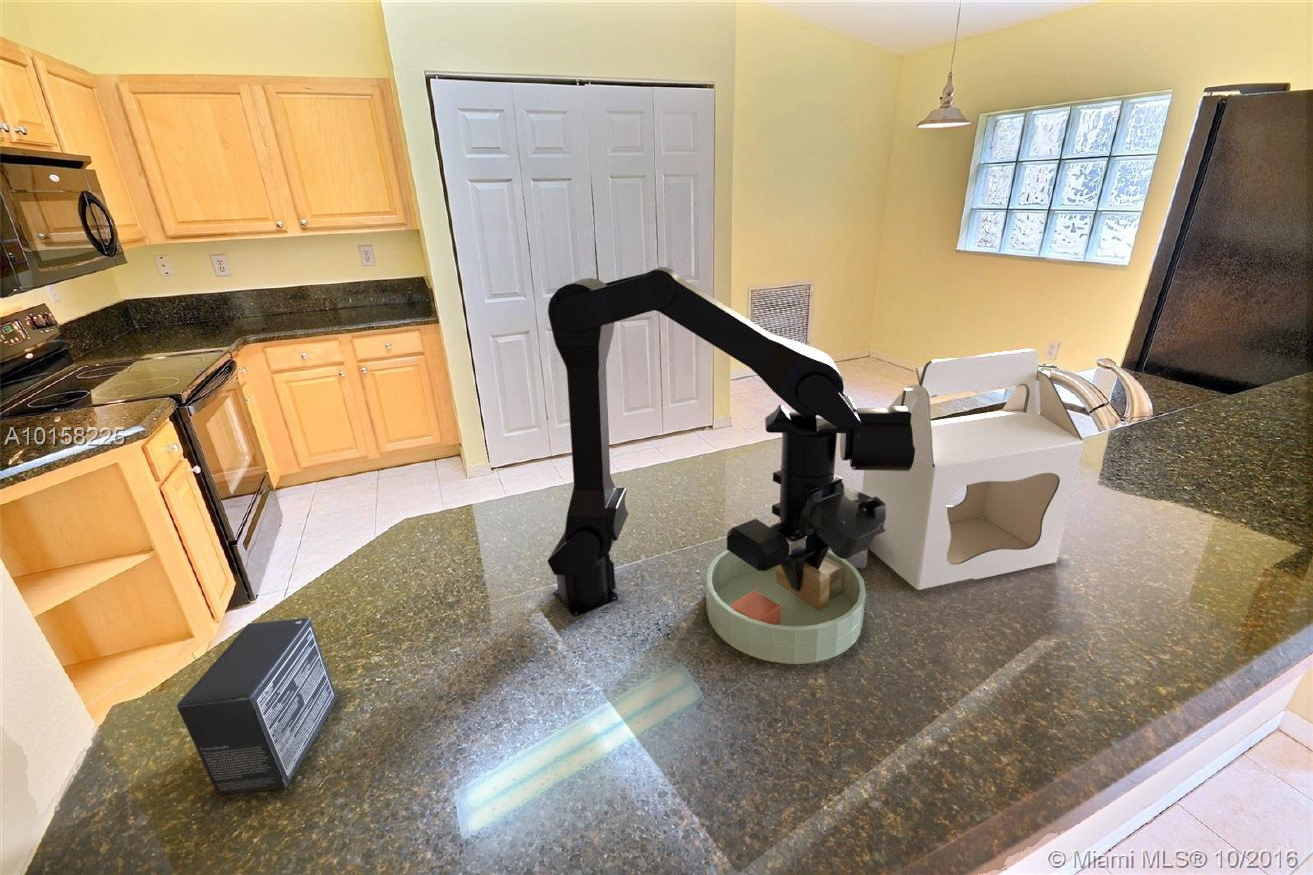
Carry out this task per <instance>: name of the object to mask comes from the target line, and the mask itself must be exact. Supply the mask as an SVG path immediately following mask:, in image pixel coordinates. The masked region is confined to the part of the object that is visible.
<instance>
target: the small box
mask: <svg viewBox="0 0 1313 875" xmlns="http://www.w3.org/2000/svg"><path fill="white" fill-rule="evenodd" d="M314 627H315V626H314V625H313V621H312V619H311V617H310V616H306V617H298V618H288V619H279V620H269V621H261V622H259V621H258V622H251V623H247V625H246V626H245V627H244V628H243V629H242V630H241V632H240V633H239V634H238V635H237V636H236V637H235V638H234V640H233V641H232V642H231V643H230V644H229V645H228V647H226V649H225V650H224V651H223V652H222V653H221V655H219V657H218V658H217V659H216V660H215V661H214V662H213V663H212V665H210V667H209V668H208V669H207V670H206V672H205V673H204V674H203V675H201V677H200V678H199V679H198V681H197V682H196V683H195V684H194V685H193V686H192V688H190V690H189V691H188V692H186V694H185V695H184V696H183V698H181V700H180V701H179V702H178V703H177V704H176V706H175V707H176V708H177V710H178V712H179V715H180V716H181V719H182V721H183V723H184V725H185V728H186V729H187V732H188V734H189V736H190V738H191V740H192V742H193V745H194V746H195V749H196V751H197V753H198V756H199V757H200V760H201V762H202V764H203V766H204V768H205V770H206V773H207V775H208V778H209V779H210V782H211V784H212V786H213V788H214V791H215V793H216V795H218V796H222V795H233V794H242V793H251V792H261V791H272V790H281V789H286V788H288V786H290V783H291V782H292V780H293V778H294V777H295V775H296V773H297V771H298V769H299V767H300V766H301V765H302V762H303V760H304V759H305V757H306V755H307V753H308V752H309V750H310V748H311V747H312V744H313V743H314V741H315V739H316V737H317V736H318V735H319V732H320V730H321V728H322V727H323V725H324V724H325V721H326V720H327V718H328V716H329V715H330V712H331V711H332V709H333V707H334V705H335V704H336V702H337V700H338V698H339V697H338V695H337V692H336V689H335V686H334V684H333V681H332V678H331V676H330V673H329V670H328V667H327V664H326V661H325V659H324V654H323V652H322V649H321V646H320V643H319V640H318V637H317V634H316V631H315V628H314Z"/></svg>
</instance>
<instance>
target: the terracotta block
mask: <svg viewBox="0 0 1313 875" xmlns="http://www.w3.org/2000/svg"><path fill="white" fill-rule="evenodd" d="M730 608H732V609H733V610H734V611H736V612H738V613H740V614H742V615H745V616H747V617H749V618H751V619H754V620H758V621H761V622H765V623H769V624H773V625H780V613H781V606H780V605H778V604H777V603H775V602H773V601H771V600H770V599H768V598H766V597H765V596H763V595H761V594H760V593H758V592H756V591H755V590H754V591H752V592H750V593H749V594H747V595H745V596H743V597H742V598H740V599H738V600H737V601H735V602H733V603H732V604H730Z"/></svg>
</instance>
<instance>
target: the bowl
mask: <svg viewBox="0 0 1313 875" xmlns="http://www.w3.org/2000/svg"><path fill="white" fill-rule="evenodd" d="M825 556H826V557H828V558H829V559H831V560H833V561H835V562H837V563H838V564H840V565H842V566H843V567H844V569H843V581H842V593H841V594H840V595H838V596H836V597H834V598H832V599H830V600H828V606H827V607H825V608H823V609H821V610H819V611H818V610H817V609H815V608H814V607H812V606H811V605H809V604H808V603H806V602H805V601H803V600H802V599H800V598H799V597H797V596H796V595H794V594H793V593H791V592H790V591H788V590H787V589H785V588H784V587H782V586H781V585H779V584H778V583H776V567H777V566H775V567H773V568H771V569H769V570H767V571H760V570H757V569H755V568H754V567H752V566H751V565H749V564H748V563H746V562H745V561H743V560H742V559H740V558H739V557H737V556H736V555H734V554H733V553H731V552H730V551H728V550H727V549H725V550H724V551H722V552H721V553H720V554H718V555H717V556H716V557H714V559H713V560H712V561H711V563H710V564H709V565H708V566H707V567H708V568H707V571H706V576H705V608H706V609H705V610H706V613H707V618H708V622H709V623H710V625H711V627H712V629H713V630H714V631H715V633H716V634H717V635H718V636H719V637H720V638H721V639H722V640H723V641H724V642H726V643H727V644H728V645H730V646H731V647H733V648H734V649H736V650H738V651H739V652H742V653H743V654H745V655H748V656H751V657H753V658H757V659H760V660H764V661H767V662H771V663H778V664H786V665H787V664H788V665H803V664H813V663H818V662H823V661H827V660H829V659H832V658H835V657H837V656H839V655H840V654H843V653H844V652H845V651H847V650H849V649H850V648H851V647H852V646H853V645H854V644H855V643H856V642H857V640H858V639H859V637H860V635H861V631H862V628H863V624H864V614H865V604H866V595H867V594H866V593H867V590H866V585H865V582H864V578H863V576H862V575H861V574H860V572H859V571H858V568H855V567H854V566H853V565H851V564H850V563H849V562H848V561H847V560H846V559H842V558H839V557H837V556H836V555H835V554H834V553H833V552H832V551H830V550H828V552H827V554H826V555H825ZM754 590H755V591H756V592H758V593H760V594H761V595H763V596H765V597H766V598H768V599H770V600H771V601H773V602H775V603H777V604H778V605H780V606H781V613H780V625H773V624H769V623H765V622H761V621H758V620H754V619H751V618H749V617H747V616H745V615H742V614H740V613H738V612H736V611H734V610H733V609H732V608H730V604H732V603H733V602H735V601H737V600H738V599H740V598H742V597H743V596H745V595H747V594H749V593H750V592H752V591H754Z"/></svg>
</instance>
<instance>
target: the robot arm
mask: <svg viewBox="0 0 1313 875" xmlns="http://www.w3.org/2000/svg"><path fill="white" fill-rule="evenodd" d="M654 311H655V312H658V313H660V314H662V315H664V316H665V317H667V318H668V319H669V320H672V321H673V322H674V323H677V324H678V325H680V327H683V328H684V329H686V330H688V331H690V332H691V333H692V334H694V335H696V336H697V337H699V338H701V339H702V340H704V341H706V342H708V344H710V345H712V346H714V347H715V348H717V349H719V350H720V351H722V352H724V353H725V354H727V355H728V356H730V357H732V358H733V359H734V360H736V361H738V362H739V363H741V364H743V365H744V366H746V367H748V368H749V369H750V370H752V371H753V372H754V373H755V374H756V375H757V376H758V377H759V378H760V379H761V380H762V381H763V383H765V384H766V386H768V387H769V388H770V389H771V391H772V392H773V393H775V394H776V396H778V397H779V398H780V399H781V400H782V401H783V402H785V403H786V404H787V405H788V406H789V407H790V408H791V409H792V410H794V412H793V411H789V410H788V409H786V407H784V405H783V404H779V405H778V406H777V407H776V409H775V410H774V411H773V412H771V413H770V414H769V415H767V416H766V417H765V418H764V424H765V425H764V426H765V432H767V433H769V434H781V459H780V470H777V471H774V472H772V481H773V482H774V483H776V484H778V485H779V486H780V488H779V502H777V503H775V504H772V505H771V514H773V515H775V516H777V517H778V518H779V521H778V522H775V523H773V524H770V525H768V524H766V523H765V522H763V521H761V520H759V519H758V518H754V519H751V520H749V521H746V522H744V523H741V524H739V525H736V526H733V527H732V528H730V529H729V530H728V531H727V533H726V550H728V551H730V552H731V553H733V554H734V555H736V556H737V557H739V558H740V559H742V560H743V561H745V562H746V563H748V564H749V565H751V566H752V567H754V568H755V569H757V570H760V571H767V570H769V569H771V568H773V567H775V566H778V565H781V567H782V569H783V571H784V573H785V575H786V577H787V579H788V581H789V583H790V586H791V587H792V589H794V590H795V591H797V592H798V591H800V589H801V585H802V580H803V571H804V562H806V563H808V564H809V565H811V566H813V567H814V568H816V569H818V570H819V568H820V566H821V564H822V561H823V559H824V557H825V555H826V554H827V552H828V550H829V548H831V549H832V552H833V553H834V554H835V555H836V556H837V557H839V558H842V559H848V558H851V557H852V556H853V555H855V554H857V553H859V552H861V551H865V550H867V549H868V550H869V546H870V545H871V543H872V541H873V539H874V537H875V536H876V535H878V534H881V533H883V532H884V531H885V527H884V526H883V525H884V523H885V519H886V504H885V503H884V502H883V501H881V500H880V499H879V498H878V497H876V496H875V497H873V498H872V497H870V496H867V495H865V494H863V493H862V492H861V491H858V490H856V489H853V488H851V487H849V486H846V485H845V483H844V482H843V478H842V477H840V476H838V475H835V468H836V453H837V439H838V438H837V437H838V434H840V437H839V451H840V452H839V453H840V460H841V461H849V467H850V468H851V470H852V471H864V470H877V471H909V470H910V469H911V467H912V465H913V461H914V456H915V447H914V445H913V432H912V426H911V415H912V414H911V412H910V411H909V410H908V409H907V408H906V407H905V406H896V407H890V408H889V407H881V408H880V407H856V405H855V404H854V402H853V401H852V400H853V399H852V398H851V397H850V395H846V394H845V392H844V388H845V386H844V379H843V376H842V374H841V373H840V371H839V370H838V368H837V366H836V364H835V362H834V361H833V359H832V358H831V357H830V356H829V355H828V354H827V353H826V352H824V351H822V350H818V349H817V348H814V347H811V346H808V345H807V344H804V343H801V342H798V341H795V340H792V339H789V338H785V337H781V336H779V335H776V334H774V333H772V332H769V331H767V330H766V329H764V328H762V327H761V326H759V325H757V324H756V323H754V322H753V321H751V320H749V319H748V318H746V317H744V316H743V315H742V314H740V313H738V312H737V311H735V310H733V309H731V308H730V307H729V306H726V305H725V304H724V303H722V302H721V301H718V300H717V299H715V297H713V296H711V295H709V294H707V293H705V291H702V290H701V289H699V287H696V286H695V285H693V284H691V283H690V282H688V281H687V280H685V279H684V278H682V277H680V276H679V274H678V273H677V272H676V271H675V270H674V269H672V268H669V267H666V266H658V267H656V268H653V269H651V270H649V271H648V272H645V273H641V274H636V275H632V276H628V277H624V278H619V279H615V280H612V281H609V282H604V281H602V280H600V279H598V278H593V277H586V278H581V279H579V280H575V281H573V282H570V283H568V284H565V285H563V286H562V287H559V288H558V289H557V290H556V291H555V293H553V295H552V296H551V297H550V299H549V302H548V306H547V316H548V320H549V325H550V328H551V332H552V336H553V341H554V345H555V348H556V350H557V352H558V354H559V355H560V357H561V359H562V362H563V365H564V366H565V370H566V380H567V395H568V396H567V397H568V412H569V413H568V414H569V428H570V446H571V460H572V462H571V463H572V474H573V475H572V476H573V488H572V492H571V497H570V501H569V504H568V508H567V513H566V520H565V527H564V532H563V534H562V535H561V537H560V539H559V541H558V543H557V544H556V546H555V547H554V549H553V551H552V552H551V553H550V556H549V557H548V558H547V563H548V564H547V565H549V568H550V570H551V571H552V573H553V575H555V576H556V584H557V589H556V590H554V591H553V594H554V595H555V597H556V598H557V599H558V600H559V601H560V603H561V604H562V605H563V607H564V608H565V609H566V610H567V611H568V612H569V614H570V615H571V616H572V617H579V616H581V615H584V614H585V613H589V612H591V611H593V610H596V609H598V608H601V607H603V606H605V605H608V604H611V603H613V602H615V601H617V600H619V599H620V596H619V595H618V593H616V592H615V590H616V588H617V587H616V576H615V575H616V574H615V562H614V561H613V560H612V559H611V554H610V551H611V550H612V547H613V544H614V543H615V542H617V541H618V540H619V537H620V534H621V532H622V530H623V527H624V525H625V523H626V520H627V518H628V516H629V512H628V510H627V507H626V496H627V491H628V490H627V487H625V486H624V487H616V485H615V483H614V481H613V480H612V477H611V459H610V435H609V433H610V432H609V411H608V410H609V406H608V383H607V381H608V380H607V379H608V378H607V360H608V357H609V352H610V349H611V344H612V341H613V336H614V329H615V324H616V323H617V322H620V321H623V320H627V319H630V318H633V317H636V316H640V315H643V314H647V313H650V312H654ZM614 597H616V598H614Z"/></svg>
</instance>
